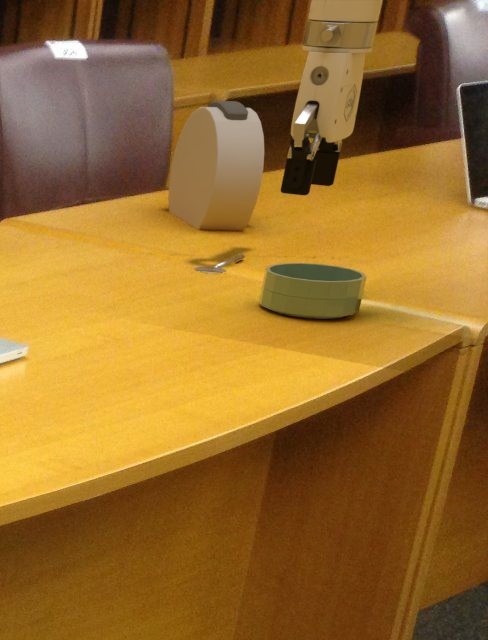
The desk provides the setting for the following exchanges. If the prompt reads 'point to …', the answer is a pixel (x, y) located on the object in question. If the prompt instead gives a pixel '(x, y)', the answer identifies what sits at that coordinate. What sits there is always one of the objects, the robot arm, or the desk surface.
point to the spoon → (219, 265)
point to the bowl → (312, 290)
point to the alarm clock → (217, 167)
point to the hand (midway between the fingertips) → (306, 189)
